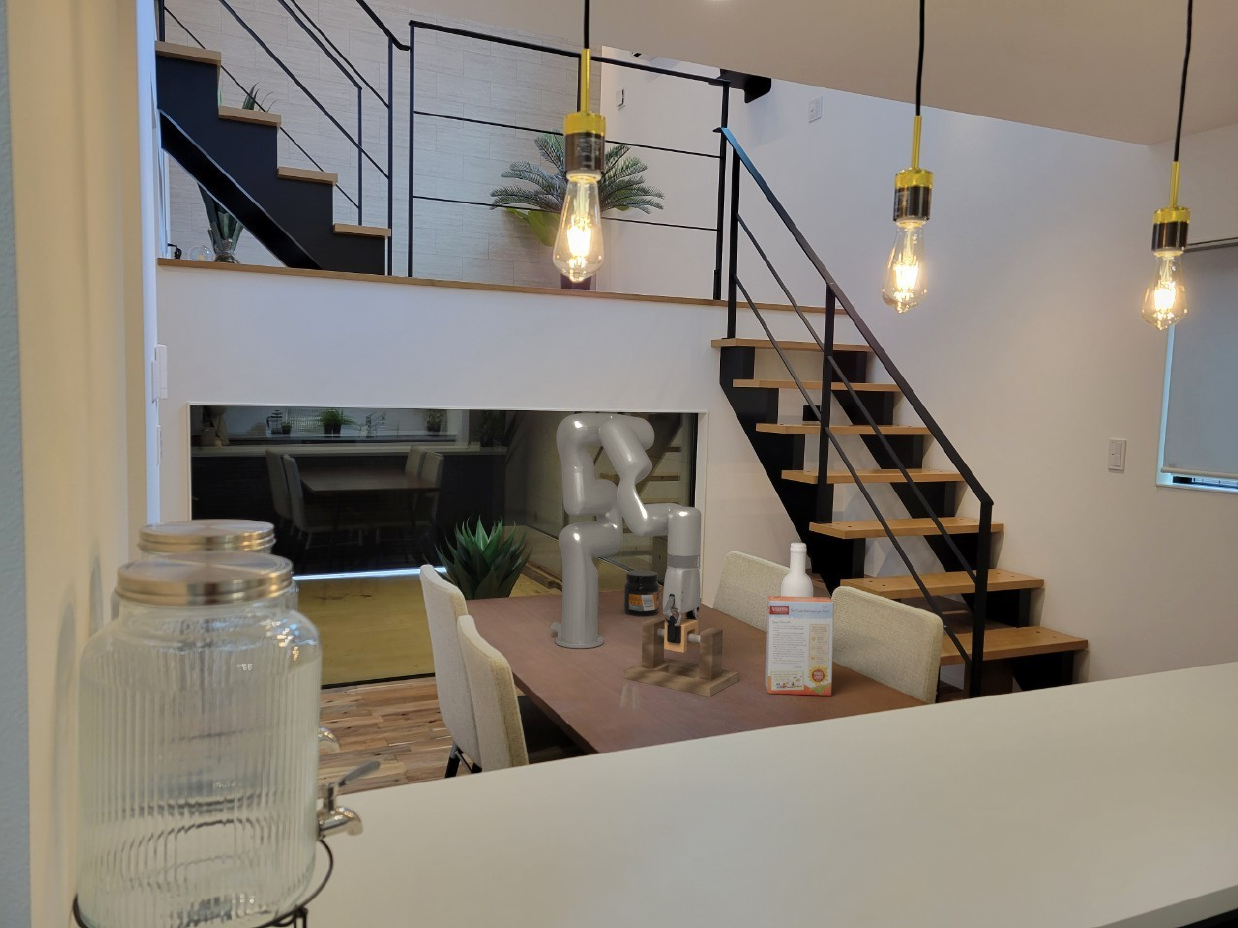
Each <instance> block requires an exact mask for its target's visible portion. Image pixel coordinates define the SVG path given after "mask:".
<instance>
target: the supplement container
mask: <svg viewBox="0 0 1238 928" xmlns="http://www.w3.org/2000/svg"><path fill="white" fill-rule="evenodd" d="M658 574H659V573H658V572H656V571H651V570H643V569H642V570H640V569H639V570H630V571H627V572H626V573H625V580H626V581H625V583H624V584H623V587H624V593H623V594H624V595H623V596H624V598H623V604H624V605H623V610H624V612H625V614H628V615H630V616H638V617H649V616H653V615H656V614H657V613H658V612H659V609H660V608H659V601H660V599H659V596H660V595H659V593H660V584H659V583H658V581H659V575H658Z"/></svg>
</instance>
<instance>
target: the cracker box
mask: <svg viewBox="0 0 1238 928" xmlns="http://www.w3.org/2000/svg"><path fill="white" fill-rule="evenodd" d="M766 598H767V600H766V604H767V606H766V636H765V638H766V639H765V640H766V643H765V647H766V648H765V650H766V651H765V690H766V692H767V694H768V695H794V696H795V695H797V696H799V695H800V696H802V695H803V696H804V695H805V696H819V697H820V696H824V697H827V696H828V697H830V696H832V681H833V643H834V641H833V640H834V639H833V638H834V607H835V603H834V602H833V600H832V599H831V598H830V597H821V596H819V597H818V596H817V597H816V596H813V597H787V596H781V595H778V596H777V595H774V596H773V595H768V596H767V597H766Z"/></svg>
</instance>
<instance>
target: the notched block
mask: <svg viewBox="0 0 1238 928" xmlns="http://www.w3.org/2000/svg"><path fill="white" fill-rule="evenodd" d="M679 626H681V642H680V643H679V644H677V643H671V642H668V641H667V624H666V622H665V635H664V650H667V651H673V652H678V653H683V654H684V653H686V652H687V650H688V647H691V648H697V647H699V644H695V643H689V642H687V633H690V634H695V635H699V620H698V619H697V620H692V619H687V617H681V620H680V624H679Z"/></svg>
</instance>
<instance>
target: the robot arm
mask: <svg viewBox="0 0 1238 928" xmlns="http://www.w3.org/2000/svg"><path fill="white" fill-rule="evenodd" d="M555 436H556V446H557V450H558V451H557V452H558V455H559V459H560V465H561V487H562V489H561V490H562V504H563V508H564V512H565V513H566V514H567V515H568V516H569V517H575V518H582V517H595V518H596V520H593V521H579V522H572V523H570V524H568V525H565V526H563V528H562V529H561V531H560V532H559V535H558V545H559V546H558V547H559V552H560V557H561V558H560V559H561V622H558V621H554V622H553V623H552V624H551V626H550V631H552V632H557V635H556V637H555V639H554V640H555V641H554V642H555V643H556V645H558V646H560V647H564V648H570V649H591V648H596V647H599V646H602V645H603V643H604V637H603V635H600V634H599V632H598V630H599V584H600V581H599V580H600V578H599V572H598V570H597V568H596V566H595V564H594V562H593V559H595V558H602V557H604V558H605V557H610V556H614V555H615V554H618V552H619V551H620V550H621V548H622V546H623V540H624V537H623V536H624V532H623V531H624V529H623V521H624V522H625V524H626V526H627V527H628V529H629V531H630V532H632V534H634V535H635V536H637V537H639V538H651V537H652V538H653V537H661V536H667V550H666V551H667V553H666V556H667V558H666V559H667V560H666V572H665V575H664V576H665V577H664V583H663V592H662V594H663V595H662V614H663V616H664V618H665V619H664V620H665V623H666V624H667V641H668V642H671V643H677V644H679V643H680V642H681V626H679V624H680V620H681V618H682V615H683V614H684V615H685V618H687V619H692V620H698V618H699V614H698V613H699V611H700V606H701V603H702V597H701V574H700V573H701V572H700V569H701V551H702V550H701V549H702V548H701V547H702V545H701V543H702V512H701V510H700V509H699V508H697V507H693V506H683V505H681V504H678V503H674V502H662V503H660V502H659V503H658V502H657V503H644V502H643V501H642V499H641V497H640V495H639V494H638V491H637V488H636V485H638V484H639V483H640V482H642V481H643V480H645V478H646V477H648V476H649V474H650V473H651V472H652V468H653V463H652V461H651V459H650V457H649V455H648V454H647V452H646V451H647V450H648V449H650V448H651V447H652V446H653V445H654V442H655V441H654V440H655V432H654V428H653V426H652V425H651V423H650V422H649V421H648V420H646V419H645V418H643V417H639V416H638V417H637V416H631V415H625V414H619V413H601V412H600V413H598V412H582V413H574V414H573V413H572V414H570V415H567V416H565V417H564V418H563V419H562V420H561V421H560V423H559V425H558V427H557V431H556V435H555ZM586 447H603V449H604V451H605V453H606V455H607V457H608V459H609V460H610V462H611V464H612V466H613V468H614V470H615V472H616V474H617V475H618V478H619V482H618V486H617V485H616V484H615V482H613V481H611V480H610V479H605V478H604V479H603V478H602V479H596V477H595V464H594V460H593V458H592V456H591V454H590V453H589V451H588V450H587V449H586ZM676 610H677V611H676ZM675 616H676V617H675Z"/></svg>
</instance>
